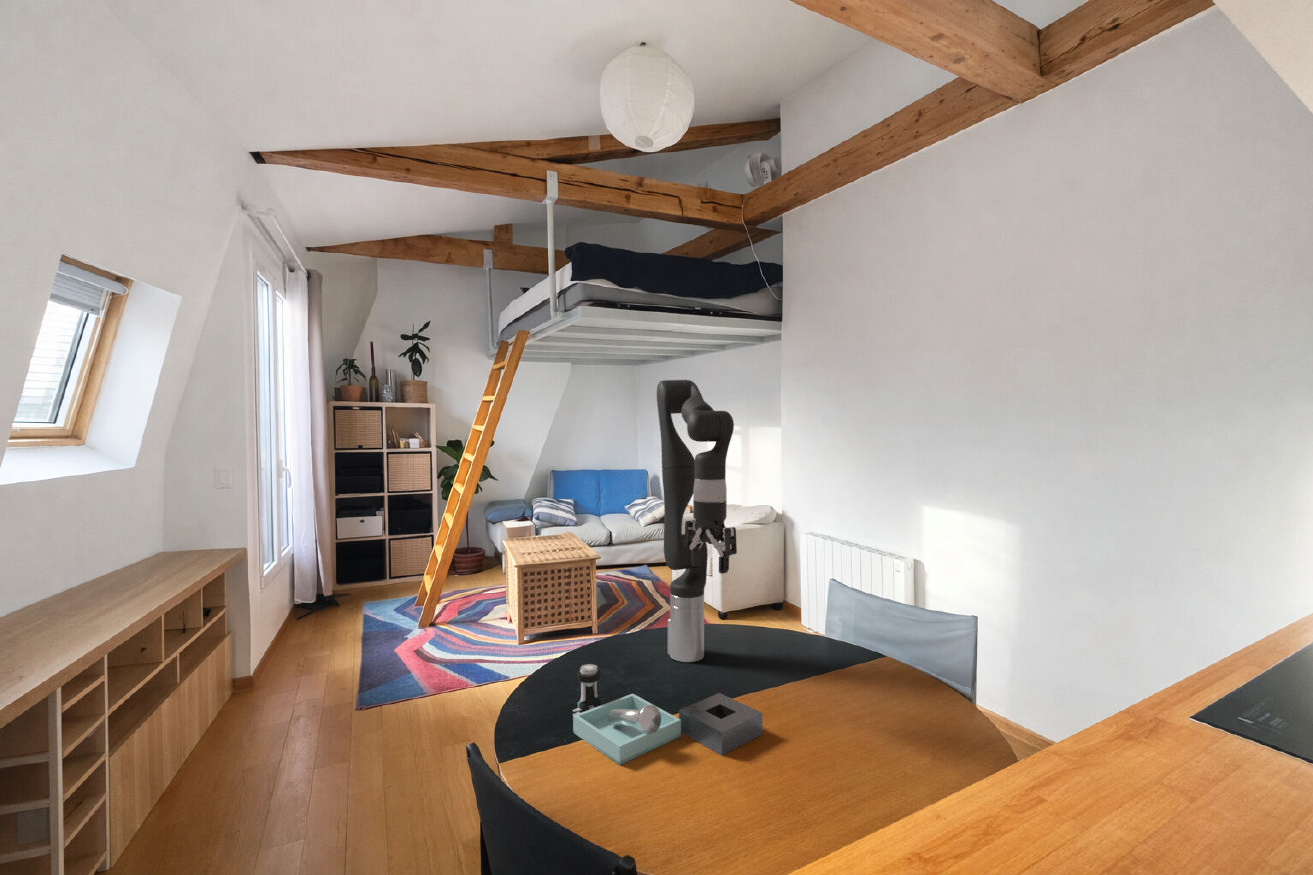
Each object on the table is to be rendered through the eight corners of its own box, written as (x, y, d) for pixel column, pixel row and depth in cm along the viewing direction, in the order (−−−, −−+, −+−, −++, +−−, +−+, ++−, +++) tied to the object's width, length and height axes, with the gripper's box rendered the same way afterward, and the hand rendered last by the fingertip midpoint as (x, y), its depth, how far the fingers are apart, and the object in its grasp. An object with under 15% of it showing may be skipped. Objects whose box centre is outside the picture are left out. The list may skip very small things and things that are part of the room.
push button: (579, 722, 130) (579, 675, 129) (566, 712, 134) (566, 667, 134) (605, 713, 134) (605, 668, 133) (593, 704, 138) (593, 660, 138)
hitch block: (679, 731, 126) (679, 709, 126) (719, 713, 134) (719, 692, 134) (721, 755, 117) (721, 732, 117) (762, 734, 125) (762, 712, 125)
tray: (573, 732, 125) (573, 715, 125) (632, 709, 136) (632, 693, 136) (619, 765, 114) (619, 746, 114) (680, 736, 124) (680, 719, 124)
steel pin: (602, 708, 126) (638, 709, 117) (621, 701, 130) (658, 701, 121) (607, 733, 125) (643, 737, 116) (626, 726, 129) (663, 728, 120)
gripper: (676, 496, 142) (676, 566, 142) (721, 503, 131) (721, 578, 132) (699, 494, 147) (699, 561, 147) (744, 500, 136) (744, 572, 137)
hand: (709, 569), depth 139 cm, fingers open, 8 cm apart
